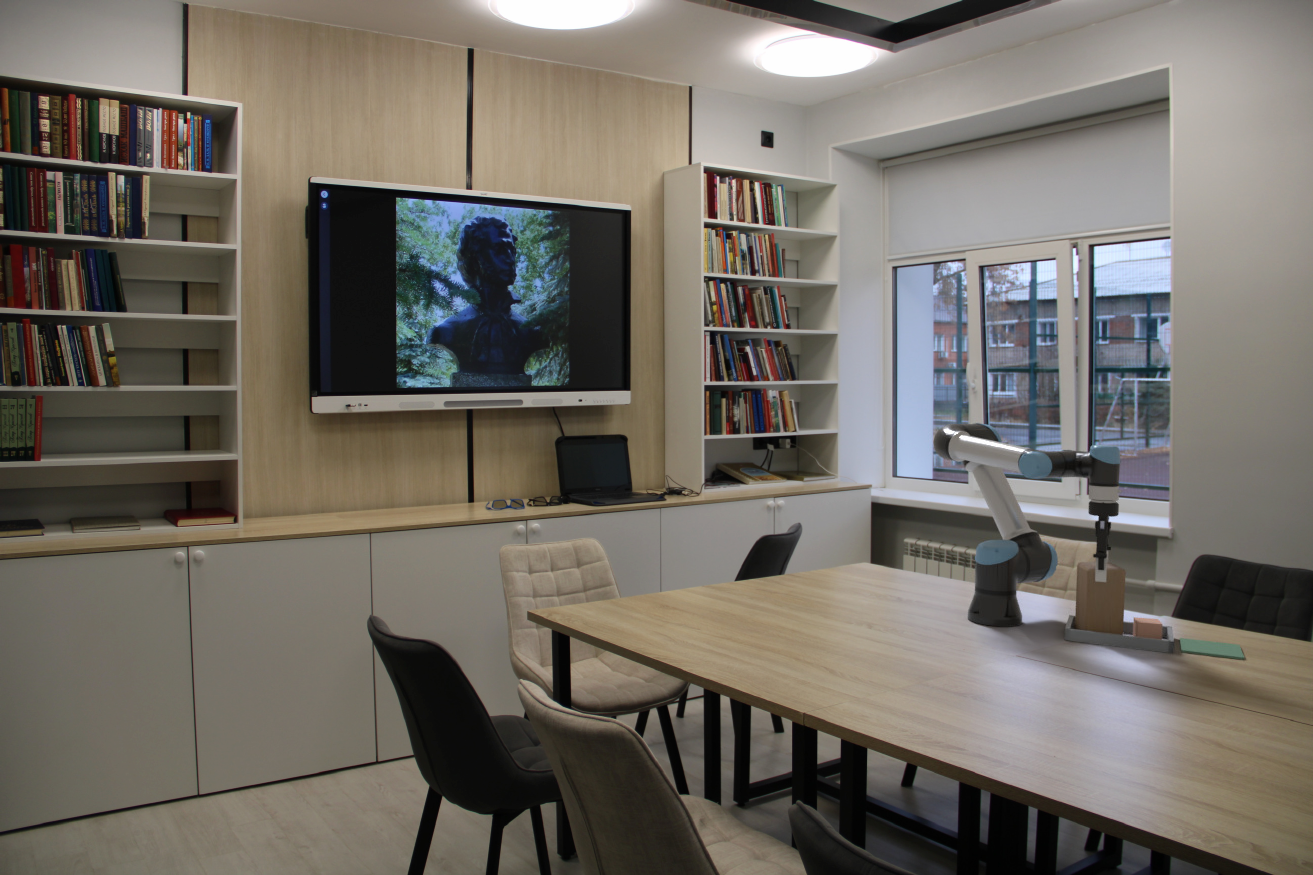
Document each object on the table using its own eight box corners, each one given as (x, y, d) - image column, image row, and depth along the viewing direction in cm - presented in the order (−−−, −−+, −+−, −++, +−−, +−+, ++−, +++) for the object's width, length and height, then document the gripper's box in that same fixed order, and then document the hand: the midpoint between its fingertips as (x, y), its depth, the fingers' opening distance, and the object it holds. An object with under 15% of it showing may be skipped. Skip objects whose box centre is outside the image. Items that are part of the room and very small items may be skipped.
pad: (1181, 652, 246) (1181, 650, 246) (1179, 639, 258) (1179, 637, 258) (1244, 659, 239) (1244, 657, 239) (1239, 646, 252) (1239, 644, 252)
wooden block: (1110, 632, 266) (1112, 562, 264) (1124, 641, 256) (1127, 569, 255) (1073, 630, 267) (1076, 561, 265) (1086, 640, 257) (1088, 567, 256)
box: (1136, 644, 254) (1137, 622, 253) (1132, 638, 259) (1133, 617, 259) (1161, 646, 252) (1162, 624, 251) (1156, 640, 258) (1157, 619, 257)
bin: (1064, 639, 257) (1064, 629, 257) (1068, 625, 273) (1069, 615, 273) (1173, 653, 245) (1174, 641, 245) (1171, 637, 261) (1172, 626, 261)
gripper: (1117, 506, 246) (1115, 586, 247) (1119, 497, 268) (1117, 571, 269) (1086, 504, 250) (1084, 583, 251) (1090, 496, 272) (1088, 568, 273)
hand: (1101, 577), depth 260 cm, fingers open, 13 cm apart
